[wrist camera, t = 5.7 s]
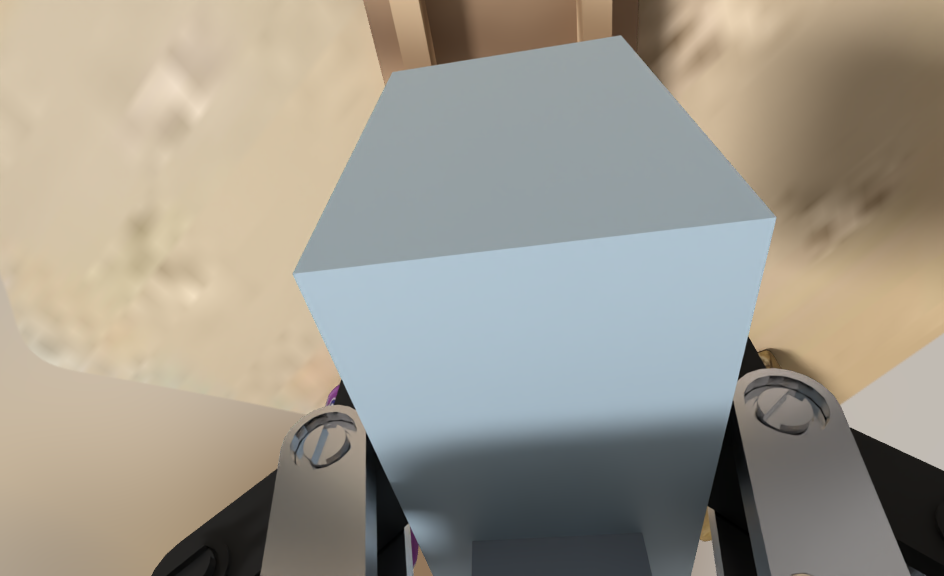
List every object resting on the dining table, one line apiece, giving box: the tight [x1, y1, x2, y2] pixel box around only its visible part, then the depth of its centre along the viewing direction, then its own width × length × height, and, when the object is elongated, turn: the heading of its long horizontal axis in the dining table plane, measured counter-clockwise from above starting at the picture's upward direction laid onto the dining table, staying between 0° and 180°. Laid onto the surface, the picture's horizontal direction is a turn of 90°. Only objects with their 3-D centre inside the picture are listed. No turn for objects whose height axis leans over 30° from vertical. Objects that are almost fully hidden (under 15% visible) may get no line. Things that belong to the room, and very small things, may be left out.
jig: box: [363, 0, 639, 86], centre depth 23 cm, size 22×10×3 cm, turn 9°
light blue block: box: [293, 35, 776, 576], centre depth 9 cm, size 9×4×7 cm, turn 9°
